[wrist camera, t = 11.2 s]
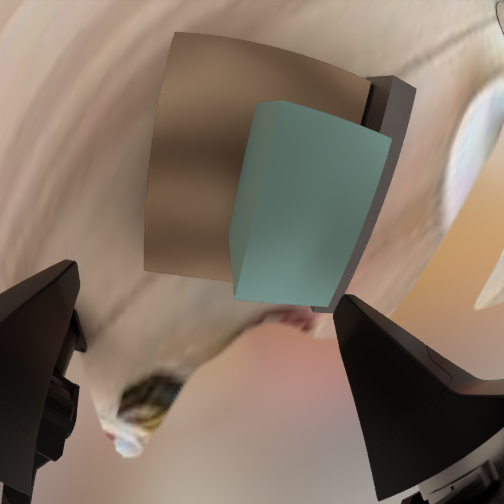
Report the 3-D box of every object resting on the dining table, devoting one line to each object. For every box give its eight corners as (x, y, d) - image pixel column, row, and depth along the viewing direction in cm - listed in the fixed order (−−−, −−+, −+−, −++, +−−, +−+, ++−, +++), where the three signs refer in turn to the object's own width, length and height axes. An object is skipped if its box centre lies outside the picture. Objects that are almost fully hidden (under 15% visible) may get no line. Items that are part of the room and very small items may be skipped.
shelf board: (301, 280, 23) (304, 289, 22) (147, 262, 21) (143, 270, 20) (362, 82, 15) (371, 81, 14) (177, 36, 12) (174, 31, 11)
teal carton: (334, 124, 16) (395, 140, 10) (298, 243, 20) (330, 306, 14) (256, 103, 15) (281, 100, 9) (228, 233, 19) (234, 299, 13)
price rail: (324, 287, 24) (337, 313, 21) (301, 285, 23) (312, 312, 20) (391, 89, 15) (419, 90, 12) (366, 77, 15) (393, 75, 12)
